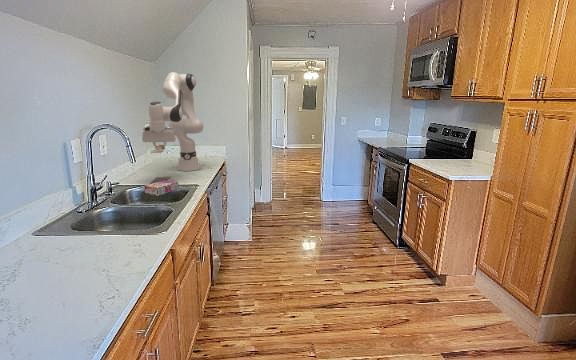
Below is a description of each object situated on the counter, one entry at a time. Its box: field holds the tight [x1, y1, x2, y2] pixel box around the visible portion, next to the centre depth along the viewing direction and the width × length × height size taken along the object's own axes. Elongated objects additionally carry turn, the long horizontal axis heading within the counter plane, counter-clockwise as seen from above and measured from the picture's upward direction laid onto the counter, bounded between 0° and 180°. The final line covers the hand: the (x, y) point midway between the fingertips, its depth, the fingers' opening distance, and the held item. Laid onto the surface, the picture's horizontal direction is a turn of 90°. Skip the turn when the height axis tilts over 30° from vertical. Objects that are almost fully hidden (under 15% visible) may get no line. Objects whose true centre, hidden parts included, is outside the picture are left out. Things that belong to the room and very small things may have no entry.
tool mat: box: [149, 176, 171, 184], centre depth 222 cm, size 24×10×1 cm, turn 8°
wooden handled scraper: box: [150, 144, 165, 154], centre depth 215 cm, size 17×6×3 cm, turn 7°
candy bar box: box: [144, 179, 180, 197], centre depth 201 cm, size 11×5×16 cm
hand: (160, 148), depth 218 cm, fingers closed on wooden handled scraper, 3 cm apart
